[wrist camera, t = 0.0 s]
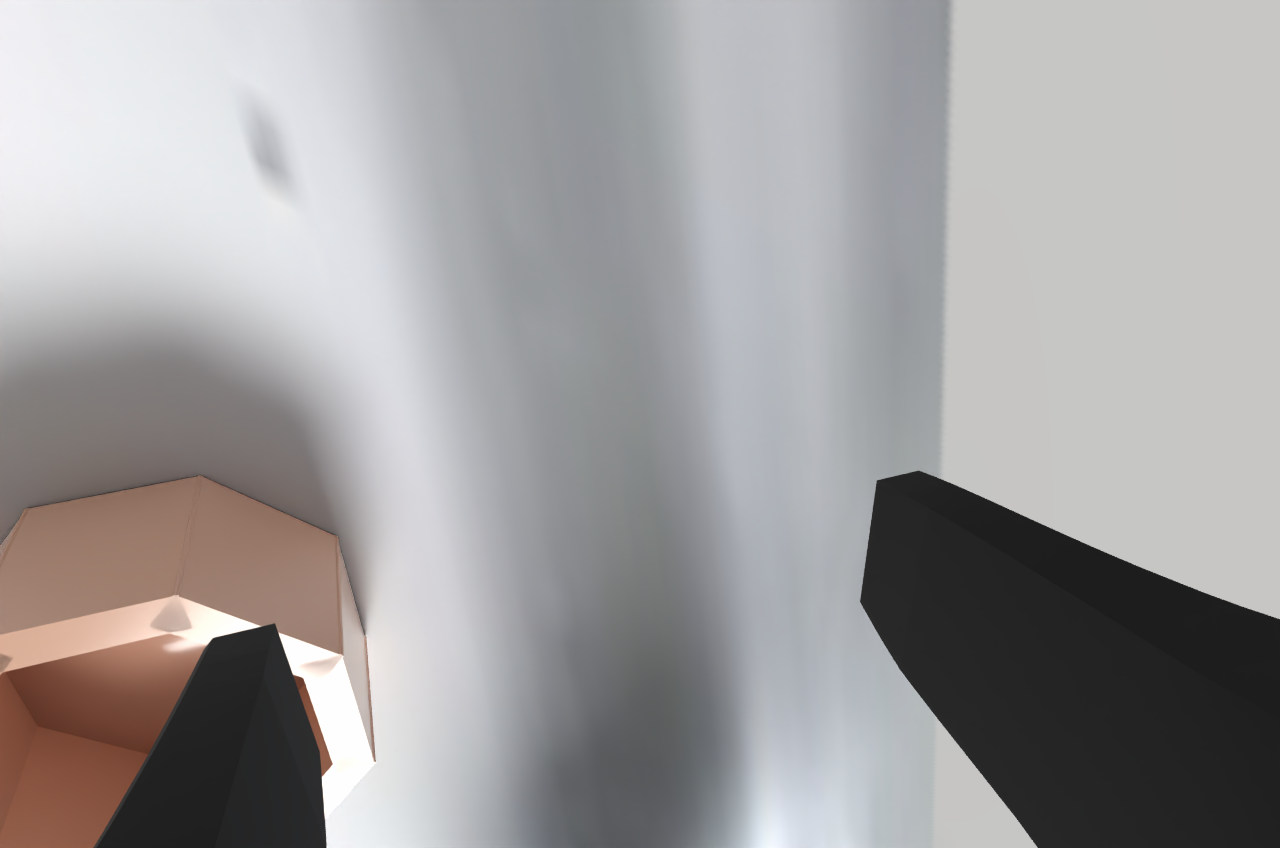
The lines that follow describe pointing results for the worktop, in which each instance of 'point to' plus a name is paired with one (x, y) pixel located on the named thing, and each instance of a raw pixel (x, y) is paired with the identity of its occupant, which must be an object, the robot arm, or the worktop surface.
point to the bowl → (157, 642)
